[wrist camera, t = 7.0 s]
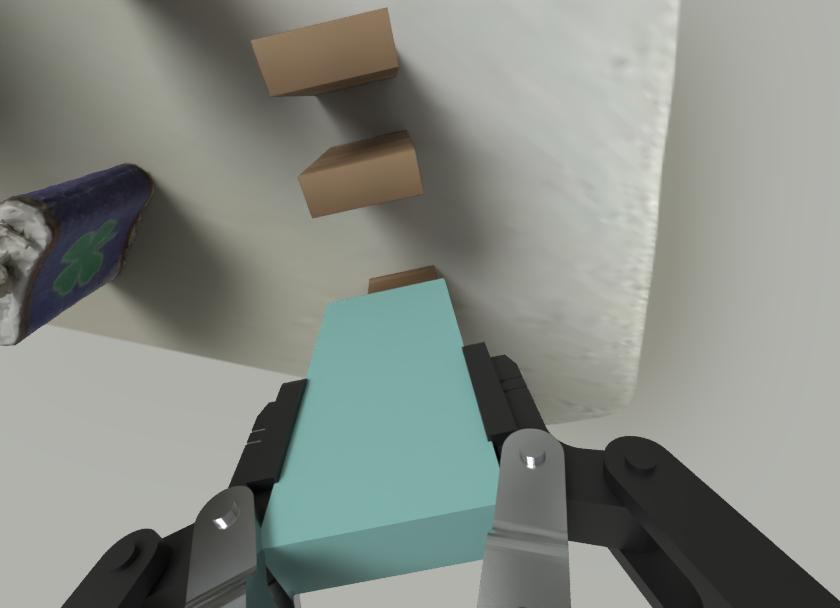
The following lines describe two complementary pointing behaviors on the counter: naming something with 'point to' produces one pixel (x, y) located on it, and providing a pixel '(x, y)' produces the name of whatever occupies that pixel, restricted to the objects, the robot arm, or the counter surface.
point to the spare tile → (383, 449)
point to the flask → (65, 244)
